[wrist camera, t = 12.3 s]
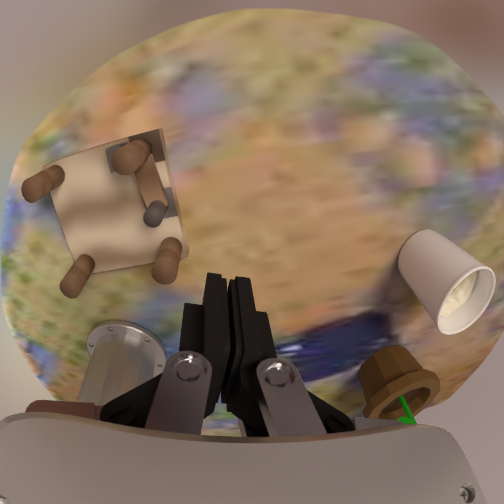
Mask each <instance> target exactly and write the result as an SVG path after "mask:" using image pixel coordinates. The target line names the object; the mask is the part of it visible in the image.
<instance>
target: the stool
mask: <svg viewBox="0 0 504 504" xmlns="http://www.w3.org/2000/svg"><path fill="white" fill-rule="evenodd" d="M139 138H143V139H146V140H148V141H149V142H150V143H151V145H152V155H153V158H154V161H155V164H156V167H157V170H158V173H159V176H160V179H161V182H162V184H163V187H164V190H165V193H166V196H167V199H168V208H167V211H166V213H165V215H164V218H163V220H162V222H161V224H160V225H159V226H158V227H155V228H151V227H148V226H147V225H146V224H145V223H144V221H143V215H144V213H145V212H146V210H147V207H146V204H145V201H144V199H143V196H142V193H141V190H140V188H139V185H138V182H137V179H136V176H135V174H134V172H133V173H132V174H130V175H120V174H118V173H117V172H116V171H115V170H114V169H113V167H112V163H111V159H112V155H113V154H114V152H115V151H116V150H117V149H119V148H121V147H123V146H124V145H126V144H128V143H130V142H132V141H134V140H136V139H139ZM21 190H22V195H23V197H24V199H25V200H26V201H28V202H30V203H34V202H36V201H38V200H39V199H40V198H42V197H43V196H45V195H46V194H48V193H49V192H50V194H51V197H52V200H53V203H54V206H55V209H56V212H57V215H58V218H59V221H60V224H61V227H62V229H63V232H64V235H65V238H66V240H67V243H68V245H69V248H70V250H71V253H72V255H73V258H74V260H75V263H74V264H73V265H72V267H71V268H70V270H69V271H68V272H67V274H66V275H65V277H64V278H63V280H62V281H61V283H60V290H61V292H62V293H63V294H64V295H65V296H66V297H68V298H76V297H78V295H79V293H80V292H81V290H82V288H83V286H84V285H85V283H86V281H87V280H88V278H89V276H90V275H91V273H97V272H102V271H108V270H114V269H119V268H125V267H131V266H136V265H142V264H148V263H153V262H155V263H154V266H153V269H152V276H153V278H154V279H155V280H156V281H157V282H158V283H161V284H170V283H172V282H174V281H175V279H176V277H177V272H178V267H179V262H180V258H182V257H188V253H189V245H188V241H187V237H186V233H185V229H184V225H183V221H182V217H181V213H180V209H179V205H178V201H177V196H176V192H175V188H174V183H173V179H172V174H171V170H170V165H169V160H168V156H167V151H166V146H165V141H164V136H163V131H162V129H157V130H153V131H149V132H145V133H141V134H137V135H134V136H130V137H127V138H123V139H119V140H116V141H113V142H109V143H106V144H103V145H99V146H96V147H93V148H90V149H87V150H84V151H81V152H78V153H75V154H72V155H70V156H67V157H64V158H61V159H58V160H56V161H53V162H51V163H49V164H47V165H44V166H43V171H41V172H39V173H37V174H35V175H34V176H32V177H30V178H28V179H26V180H25V181H24V182H23V184H22V189H21Z"/></svg>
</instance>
